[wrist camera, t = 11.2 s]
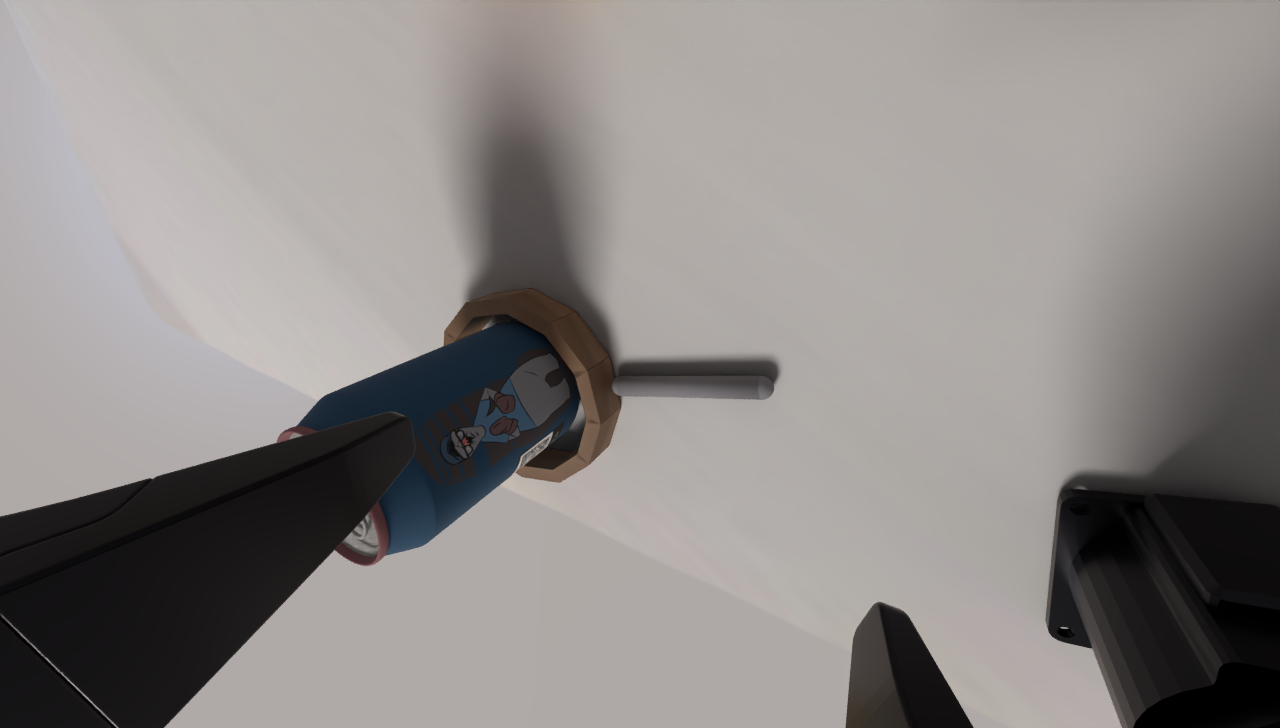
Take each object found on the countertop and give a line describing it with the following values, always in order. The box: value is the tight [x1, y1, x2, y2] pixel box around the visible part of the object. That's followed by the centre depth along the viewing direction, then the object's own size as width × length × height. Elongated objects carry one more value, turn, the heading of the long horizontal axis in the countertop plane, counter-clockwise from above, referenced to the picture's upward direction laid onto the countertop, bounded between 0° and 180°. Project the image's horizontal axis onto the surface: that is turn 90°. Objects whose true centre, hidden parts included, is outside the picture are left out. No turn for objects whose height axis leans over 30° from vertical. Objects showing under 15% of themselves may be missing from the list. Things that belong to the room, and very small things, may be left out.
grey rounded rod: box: [612, 376, 774, 400], centre depth 21 cm, size 1×8×1 cm, turn 104°
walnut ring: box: [444, 288, 621, 483], centre depth 26 cm, size 11×11×2 cm
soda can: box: [277, 322, 580, 566], centre depth 21 cm, size 7×7×12 cm
